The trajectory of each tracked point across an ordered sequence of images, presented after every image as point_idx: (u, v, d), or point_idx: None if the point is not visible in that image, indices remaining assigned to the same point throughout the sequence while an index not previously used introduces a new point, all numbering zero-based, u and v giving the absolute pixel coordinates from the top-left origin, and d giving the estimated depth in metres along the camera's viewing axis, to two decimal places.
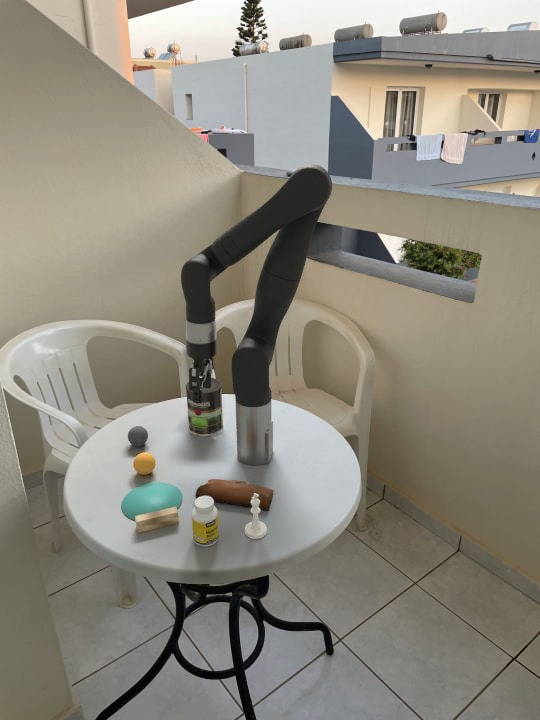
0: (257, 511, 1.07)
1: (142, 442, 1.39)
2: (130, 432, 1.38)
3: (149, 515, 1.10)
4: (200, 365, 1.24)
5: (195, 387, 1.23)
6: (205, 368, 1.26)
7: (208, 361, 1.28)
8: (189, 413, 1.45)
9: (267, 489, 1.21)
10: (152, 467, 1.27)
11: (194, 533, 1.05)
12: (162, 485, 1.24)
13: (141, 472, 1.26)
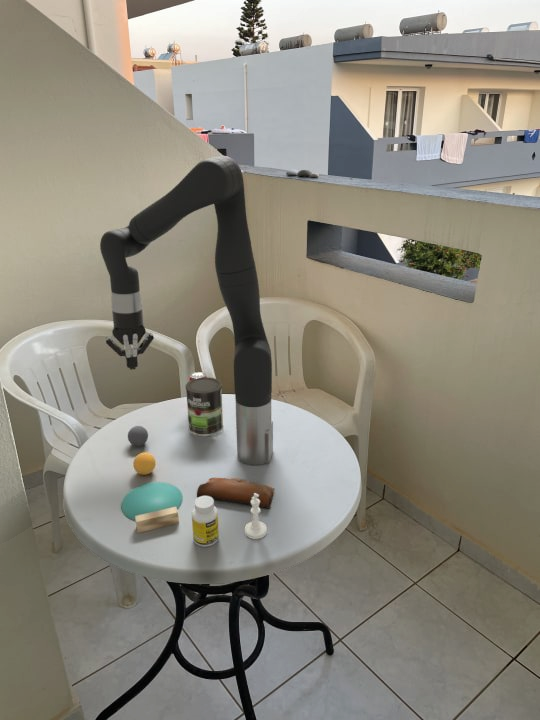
0: (257, 511, 1.07)
1: (142, 442, 1.39)
2: (130, 432, 1.38)
3: (149, 515, 1.10)
4: None
5: None
6: None
7: None
8: (189, 413, 1.45)
9: (268, 487, 1.22)
10: (152, 467, 1.27)
11: (194, 533, 1.05)
12: (162, 485, 1.24)
13: (141, 472, 1.26)
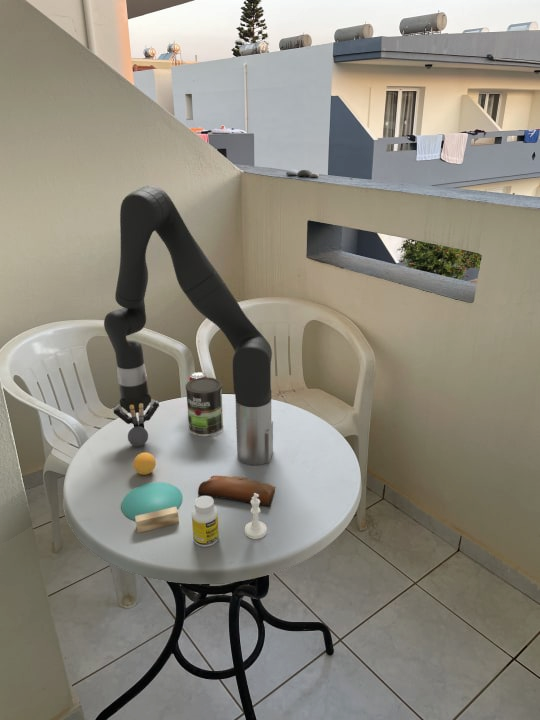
0: (257, 511, 1.07)
1: (142, 443, 1.39)
2: (130, 433, 1.38)
3: (149, 515, 1.10)
4: None
5: (148, 414, 1.43)
6: None
7: None
8: (189, 413, 1.45)
9: (269, 486, 1.22)
10: (152, 467, 1.27)
11: (194, 533, 1.05)
12: (162, 485, 1.24)
13: (141, 472, 1.26)
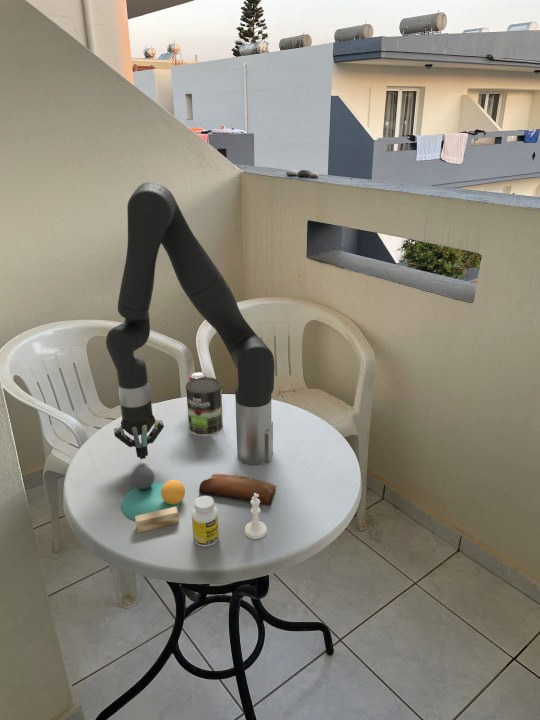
0: (257, 511, 1.07)
1: (147, 470, 1.22)
2: None
3: (149, 515, 1.10)
4: None
5: None
6: None
7: None
8: (189, 413, 1.45)
9: (270, 484, 1.23)
10: (181, 490, 1.17)
11: (194, 533, 1.05)
12: (162, 485, 1.24)
13: (169, 492, 1.15)
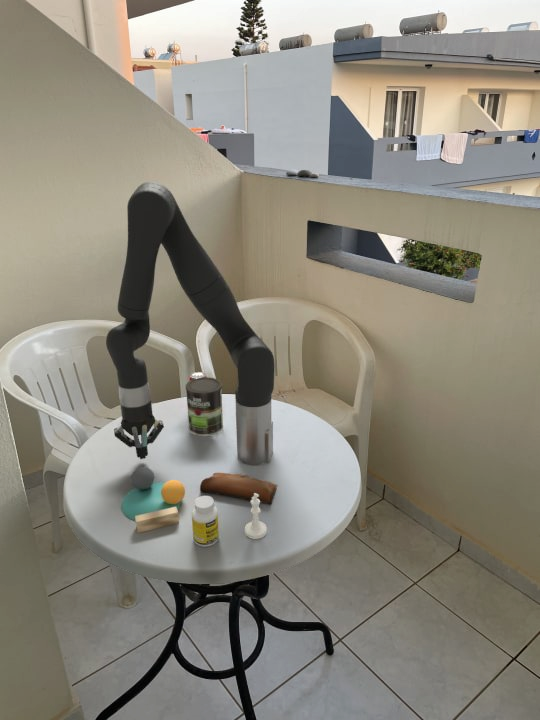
0: (257, 511, 1.07)
1: (147, 470, 1.22)
2: None
3: (149, 515, 1.10)
4: None
5: None
6: None
7: None
8: (189, 413, 1.45)
9: (270, 484, 1.23)
10: (181, 490, 1.17)
11: (194, 533, 1.05)
12: (162, 485, 1.24)
13: (169, 492, 1.15)
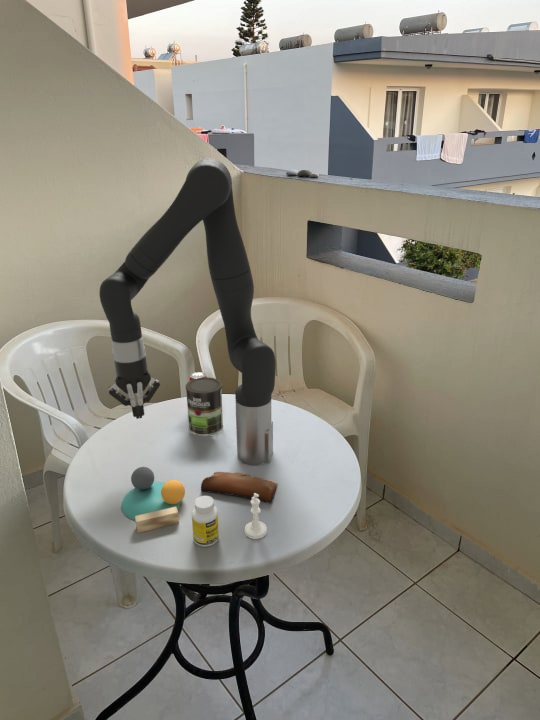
0: (257, 511, 1.07)
1: (147, 470, 1.22)
2: None
3: (149, 515, 1.10)
4: None
5: None
6: None
7: None
8: (189, 413, 1.45)
9: (271, 482, 1.24)
10: (181, 490, 1.17)
11: (194, 533, 1.05)
12: (162, 485, 1.24)
13: (169, 492, 1.15)
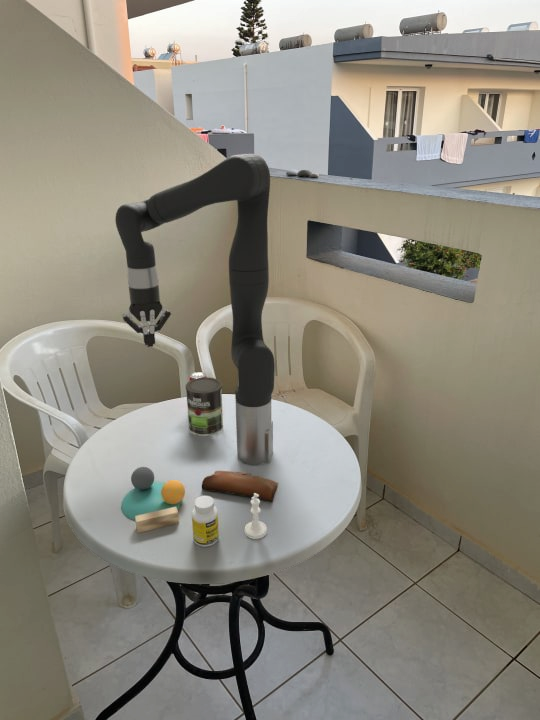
0: (257, 511, 1.07)
1: (147, 470, 1.22)
2: None
3: (149, 515, 1.10)
4: None
5: None
6: None
7: None
8: (189, 413, 1.45)
9: (271, 481, 1.24)
10: (181, 490, 1.17)
11: (194, 533, 1.05)
12: (162, 485, 1.24)
13: (169, 492, 1.15)
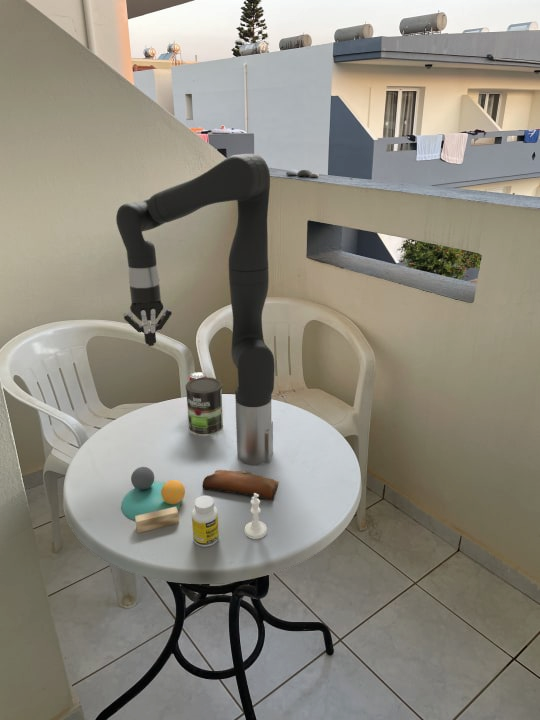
0: (257, 511, 1.07)
1: (147, 470, 1.22)
2: None
3: (149, 515, 1.10)
4: None
5: None
6: None
7: None
8: (189, 413, 1.45)
9: (272, 480, 1.24)
10: (181, 490, 1.17)
11: (194, 533, 1.05)
12: (162, 485, 1.24)
13: (169, 492, 1.15)
